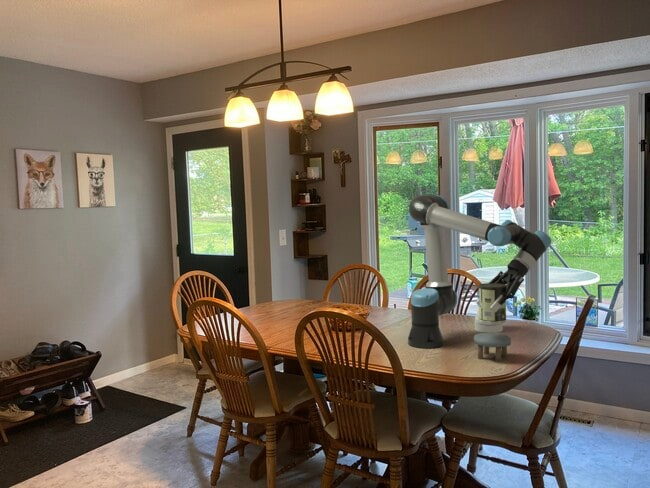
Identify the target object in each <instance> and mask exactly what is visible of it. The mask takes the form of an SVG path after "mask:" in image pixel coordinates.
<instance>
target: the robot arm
mask: <svg viewBox="0 0 650 488" xmlns="http://www.w3.org/2000/svg"><path fill="white" fill-rule="evenodd" d="M408 213H409V215H410V217H411V218H412V219H413V220H414V221H416V222H419V223H420V224H419V225H420V227H421V228H422V229H423V231H424V233H423V234H424V241H425V242H424V243H425V244H424V245H425V254H426V262H427V263H426V264H427V273H428V274H427V277H428V282H427V283H426V285H425V288H419V289H416V290H414V291H412V292H411V297H410V299H411V300H410V305H411V308H410V309H411V328H410V330H409V333H408V336H407V337H408V338H407V345H409V346H411V347H414V348H419V349H435V348H439V347H442V346H443V345H444V338H443V335H442V332H441V329H440V321H439V319H440V316H442V315H446V314H449V313H450V312H452V311H453V310H454V309H455V308H456V307H457V304H458V295H457V292H456V291H455V289H453V284H452V282H450V281H449V277H448V276H449V275H448V266H447V265H448V264H447V254H446V243H445V242H446V241H445V231H444V230H445V229H444V228H447V229H449V230H452V231H455V232H458V233H461V234H465V235H466V236H467V235H468V236H471V237H474V238H477V239H480V240H483V241H485V242H489V243H490V245H492V246H494V247H503V246H506V245H507V246H508V245H511V244H512V245H515V246H516V247H517V248H520V250H519V251H518V252H517V253H516V255H515V256H514V257H513V259H511V261H509V263H508V264H507V266H506V267H507V270H506V271H504V272H503V271H502V270H500V271H499V272H498V274H497V275H495V277H494V278H492V279H491V280H490V281H488V283H499V284H505V285H506V287H505V290H504V293H503V294H502V295H500V296H499V298H498V299H497V300H496V301H495V302H494V304H493V305H492V306H491V307H490V308H491V309H492V310H493V311H494V312H497V310H498V309H499V308H500V307H501V306H502V304H503V303H504V302H505V301H506V302H507V301H508V300H509V299H511V300H512V299H514V297H515V295H516V294H517V292H518V290H519V288H520V286H521V285H522V284H523V282H524V281H525V276H526V275H527V274H528V273H529V271H530V270H531V269H532V268H533V267H534V265H535V264H536V262H537V261H538V260H539V259H540V258H541V257H542V256H543V255H544V254H545V252H547V250H548V248H549V247H550V245H551V244H552V238H551V237H550V235H548V234H547V233H546V232H544V231H541V230H536V231H535V232H532V231H529V230H528V229H526V228H524V227H522V225H519V224H517V223H516V222H514V221H512V220H509V219H506V220H505V221H503V222H501V224H498V223H494V222H491V221H487V220H485V219H482V218H478V217H474V216H472V215H469V214H468V215H467V214H465V213H462V212H459V211H455V210H452V209H450V205H449V202H448V200H447V199H446V198H445V197H443V196H442V195H439V194H427V195H426V194H425V195H424V194H423V195H417V196H415V197H413V199H411V201H410V203H409V205H408ZM475 303H476V305H477V306H478V305H479V298H478V299H477V300H476V301H475Z"/></svg>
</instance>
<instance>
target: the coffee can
mask: <svg viewBox="0 0 650 488" xmlns="http://www.w3.org/2000/svg"><path fill="white" fill-rule="evenodd" d="M505 287H506V285H505V284H499V283H489V282H486V283H479V284H478V295H479V296H478V299H479V307H478V309H479V321H481V322H485V323H503V324H504V323H507V300H506V301H505V302H504V303H503V304H502V306H501V307H500V308H499V309H498V310H497V312H494V311H493V310H492V309H491V308H490V307H491V306H492V305H493V304H494V302H495V301H496V300H497V299H498V298H499V296H500V295H502V294H503V293H504V290H505Z"/></svg>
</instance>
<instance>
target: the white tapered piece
mask: <svg viewBox="0 0 650 488" xmlns="http://www.w3.org/2000/svg"><path fill="white" fill-rule="evenodd" d="M477 307H478V308H477V311H476V314H475V315H476V316H475V317H474V330H475V331H477V332H481V333H501V332H502V331H504V323H485V322H481V321H479V305H478V304H477Z"/></svg>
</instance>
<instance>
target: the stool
mask: <svg viewBox="0 0 650 488" xmlns="http://www.w3.org/2000/svg"><path fill="white" fill-rule="evenodd" d="M473 343H474V344H475V345H477V359H478V360H483V359H484V355H490V348H495V362H498V363H499V362H502V358H507V356H508V353H507V352H508V350H507V348H508V347H509V346H511V344H512V337H511V336H510V335H507V334H504V333H499V332H496V333H487V332H481V333H477V334H474V335H473Z"/></svg>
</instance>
